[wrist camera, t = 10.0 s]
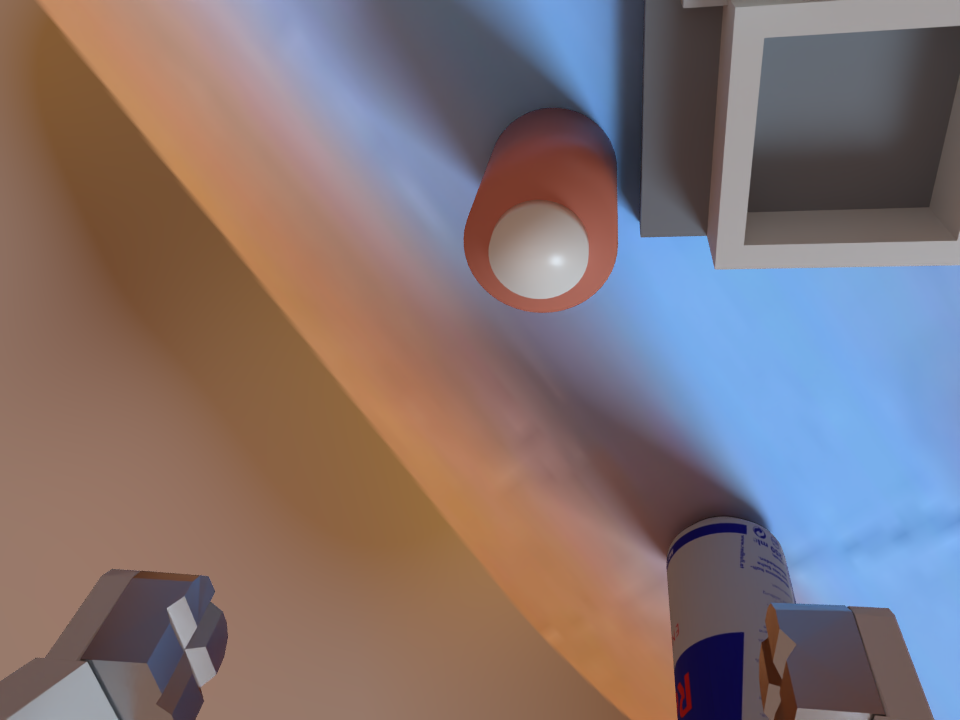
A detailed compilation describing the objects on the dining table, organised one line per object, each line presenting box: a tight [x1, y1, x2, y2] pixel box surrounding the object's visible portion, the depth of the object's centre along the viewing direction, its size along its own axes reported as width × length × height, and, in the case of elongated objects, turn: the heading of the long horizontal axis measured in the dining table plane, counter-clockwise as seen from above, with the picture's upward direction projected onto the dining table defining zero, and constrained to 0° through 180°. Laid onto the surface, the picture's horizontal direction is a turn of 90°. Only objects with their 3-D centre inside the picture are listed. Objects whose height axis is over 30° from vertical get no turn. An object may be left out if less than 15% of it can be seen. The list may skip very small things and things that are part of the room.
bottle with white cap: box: [464, 108, 618, 313], centre depth 25 cm, size 4×4×7 cm
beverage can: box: [667, 516, 796, 720], centre depth 30 cm, size 5×5×15 cm
